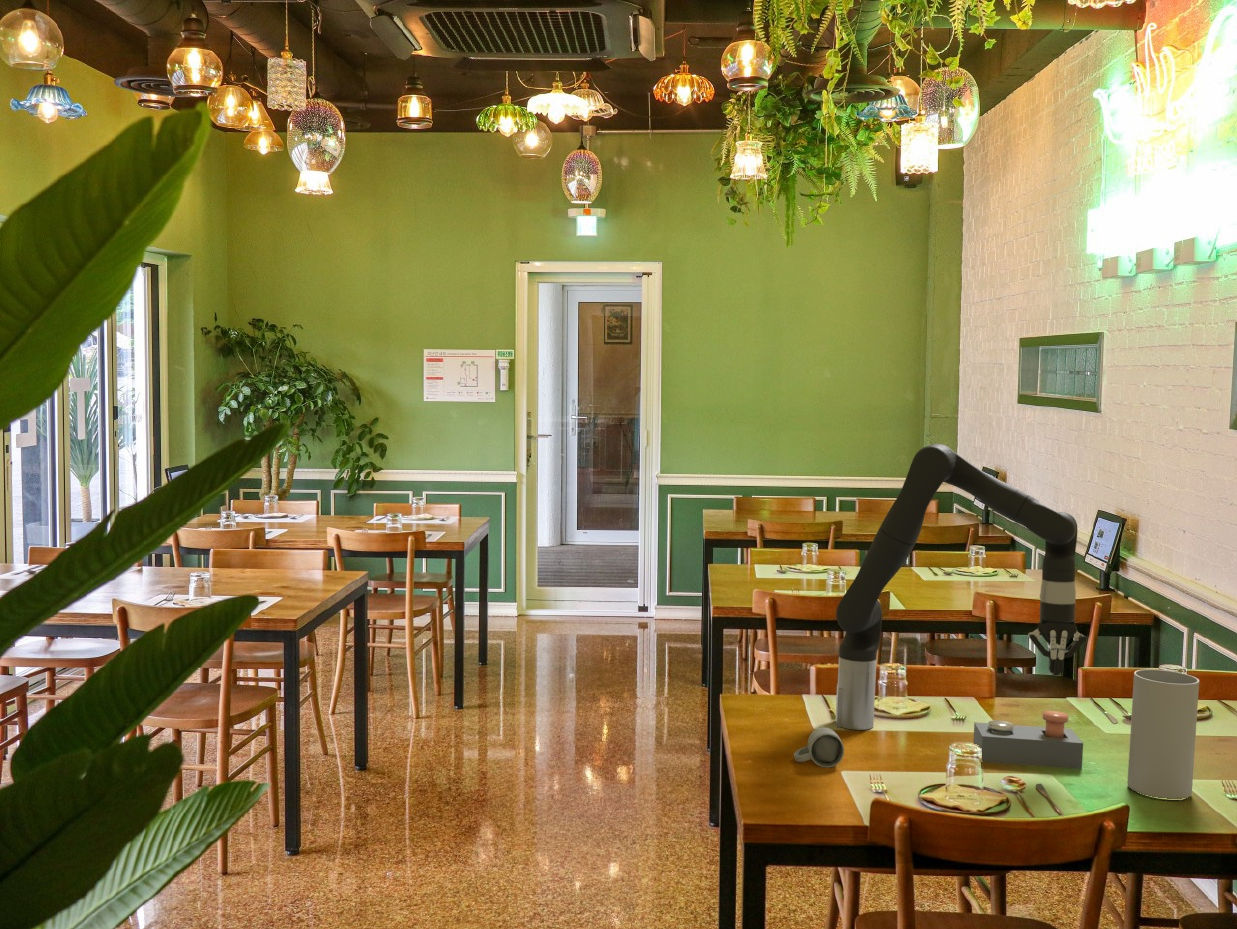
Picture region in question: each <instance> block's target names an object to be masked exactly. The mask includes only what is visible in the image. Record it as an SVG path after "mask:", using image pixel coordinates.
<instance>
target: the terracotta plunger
mask: <svg viewBox="0 0 1237 929" xmlns="http://www.w3.org/2000/svg"><path fill="white" fill-rule="evenodd" d="M1041 717H1042V720H1044V721H1045V727H1046V729H1045V737H1056V738H1064V728H1065V723H1068V722H1069V718H1070V717H1069V714H1067V713H1066V712H1063V711H1058V710H1057V711H1056V710H1044V711H1042V716H1041Z"/></svg>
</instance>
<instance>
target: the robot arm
mask: <svg viewBox="0 0 1237 929" xmlns="http://www.w3.org/2000/svg"><path fill="white" fill-rule="evenodd" d="M910 463H911V464H910V466H909V469H908V472H907V474H906V477H905V480H904V482H903V484H902V487H901V489H900V492H899V494H898V495H897V497H896V499H895V500H894V502H893V504H892V505H891V507H890V508H889V510H888V512H887V513H886V516H885V517H884V519H883V521H882V522H881V523H880V526H879V527H878V529H877V532H876V534H875V535H874V538H873V541H872V542H871V544H870V546H869V549H868V550H867V553H866V555H865V557H864V558H863V562H861V563H862V564H861V566H860V568H859V570H858V572H857V574H856V576H855V577H854V579H853V581H852V583H851V584H850V586H848V587H849V588H848V589H847V591H846V592H845V593H844V595H843V596H842V598H841V600H840V601H839V603H838V605H837V607H836V612H835V618H836V621H837V623H838V624H837V625H838V626H839V627H840V628H841V630H843V631H844V632H845V633H844V634H845V635H844V638H843V639H842V642H841V643H840V644H839V650H838V651H839V652H838V670H837V671H838V672H837V673H838V674H837V684H836V698H835V700H836V701H835V702H836V703H835V725H836V727H838V728H844V729H848V730H857V731H858V730H859V731H862V730H863V731H864V730H870V729H873V728H874V721H875V700H876V699H875V696H876V681H877V680H876V677H877V654H878V650H879V649H880V648H879V647H880V644H881V638H882V635H881V634H882V625H883V624H882V623H883V622H882V621H883V610H882V605H881V602H880V601H879V598H880V596H881V594H882V593H883V590H885V587H886V586H887V585H888V584H889V582H890V581H891V580H892V579H893V578H894V577H895V575H896V574H897V573H898V572H899V570H901V568H902V567H903V566H904V564H905V563H906V562H907V560H908V558H909V556H910V554H911V553H912V551H913V548H914V547H915V545H916V543H917V542H918V538H919V536H920V534H921V531H922V527H923V524H924V520H925V515H926V512H927V509H928V507H929V505H930V503H931V501H932V500H933V498H934V496H935V495H936V493H937V491H938V490H939V489H940V488H941V485H942V484H943V483H946V484H948V485H951V486H954V487H956V488H958V489H961V490H963V491H965V492H966V493H968V494H970V495H971V496H972V497H974V498H976V499H977V500H979V501H980V502H981V503H982V504H984V505H985V506H986V507H988V508H989V509H991V510H992V511H994V512H996V513H997V514H999V515H1001V516H1002V517H1005V518H1006V519H1008V520H1010V521H1011V522H1014V523H1016V524H1018V525H1021V526H1022V527H1024V528H1026V529H1027V530H1029V531H1030V532H1031V533H1033V534H1034V535H1036V536H1038V537H1040V538H1041V540H1045V542H1044V543H1045V544H1044V545H1045V547H1044V548H1045V549H1044V550H1045V553H1044V556H1043V558H1042V559H1043V560H1042V567H1041V568H1042V569H1041V575H1042V576H1041V584H1040V594H1039V601H1040V603H1039V622H1038V624H1037V627H1036V629H1035V630H1033V631H1032V632H1031V631H1030V632H1028V633H1027V637H1028V638H1029V639H1030V641H1031V643H1033V645H1034V646H1035V647H1036V649H1037V650H1038V651H1039V653H1040V654H1041V655H1042V656H1043V657H1047V658H1048V672H1049V673H1050V674H1051V675H1052V676H1060V675H1061V674H1062V673H1063V671H1064V667H1063V666H1064V660H1065V659H1066V658H1072V656H1074V654H1076V652H1077V651H1078V650H1079V649H1080V648H1081V646H1082V645H1083V644H1084V643H1085V642H1086V640H1087V637H1086V636H1084V635H1083V634H1082V633H1080V632H1079V631H1078V629H1077V628H1078V627H1077V626H1076V597H1077V596H1076V595H1077V594H1076V593H1077V591H1076V558H1075V557H1076V556H1075V555H1076V551H1077V541H1078V522H1077V520H1076V519H1075V517H1074V516H1073V515H1072V514H1070V513H1068V512H1067V511H1066V512H1065V511H1057V510H1054V509H1052V508H1050V507H1048V506H1046V505H1044V504H1042V503H1040V501H1039V500H1038V499H1036V498H1035V497H1034V496H1031V495H1029V494H1028V493H1026V492H1024V491H1022V490H1020V489H1018V488H1016V487H1015V486H1012V485H1011V484H1008V483H1006V482H1004V481H1002V480H1000V479H998V478H996V477H995V476H992V475H991V474H989V473H986V472H985V471H983V470H982V469H980V468H978V467H976V466H975V465H974V464H972V463H971V462H969V461H968V460H966V459H965V458H964V457H962V456H961V455H959V454H958V453H957V452H956V451H954V450H953V449H952V448H950V447H948V446H947V445H945V444H943V443H933V444H932V443H931V444H929V445H926V446H924V447H921V449H919V450H918V451H917V452H916V454H914V456H913V459H912V461H911V462H910ZM1040 635H1041V636H1042V638H1043V639H1044V641H1045V642H1047V643H1046V645H1047V650H1046V648H1045V647H1044V646H1043V644H1042V643H1041V642H1040V639H1041V636H1040ZM1072 638H1073V641H1072V642H1071V644H1070V645H1068V647H1067V644H1069V641H1071V639H1072ZM1066 647H1067V648H1066Z"/></svg>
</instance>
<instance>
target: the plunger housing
mask: <svg viewBox="0 0 1237 929" xmlns="http://www.w3.org/2000/svg"><path fill="white" fill-rule="evenodd" d="M1013 725H1014V728H1013V732H1010V734H998V733H991V730H990V729H989V728H988V722H976V721H975V722H974V724H973V726H974V727H973V743H974V744H977V745H979V747H980V748H982V761H983V762H982V763H991V764H992V763H993V764H1005V765H1017V766H1018V765H1020V766H1034V767H1047V768H1060V769H1070V770H1071V769H1072V768H1073V769H1074V770H1082V769H1083V754H1084V742H1083V741H1082V739H1080V737H1079V736H1078V735H1077V734H1076V733H1075V732H1074V730H1073V729H1072V728H1065V727H1064V738H1056V737H1045V729H1046V726H1036V725H1035V726H1033V725H1020V724H1019V725H1017V724H1013Z"/></svg>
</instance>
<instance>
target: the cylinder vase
mask: <svg viewBox="0 0 1237 929" xmlns="http://www.w3.org/2000/svg"><path fill="white" fill-rule="evenodd" d="M1132 686H1133V688H1132V703H1131V717H1130V718H1131V720H1130V732H1129V733H1130V735H1129V752H1128V753H1129V754H1128V766H1127V768H1128V769H1127V785H1128V788H1129V789H1130V788H1131V789H1132V790H1131V789H1130V790H1131V791H1133V790H1134V791H1136V792H1139V793H1141V794H1144V795H1148V796H1152V797H1158V798H1167V799H1182V798H1187V797H1189V796H1190V797H1191V796H1192V794H1193V793H1192V792H1193V782H1194V781H1193V780H1194V769H1195V768H1194V767H1195V766H1194V764H1195V750H1196V739H1197V738H1196V734H1197V721H1198V720H1197V719H1198V707H1199V706H1198V704H1199V703H1198V702H1199V691H1200V690H1199V688H1200V679H1199V678H1197V677H1195V676H1193V675H1190V674H1186V673H1183V672H1178V671H1174V670H1165V669H1156V668H1155V669H1153V668H1149V669H1147V668H1145V669H1138V670H1135V671H1134V672H1133V685H1132ZM1134 791H1133V792H1134ZM1136 792H1135V793H1136ZM1190 797H1189V798H1190ZM1187 799H1188V798H1187Z"/></svg>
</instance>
